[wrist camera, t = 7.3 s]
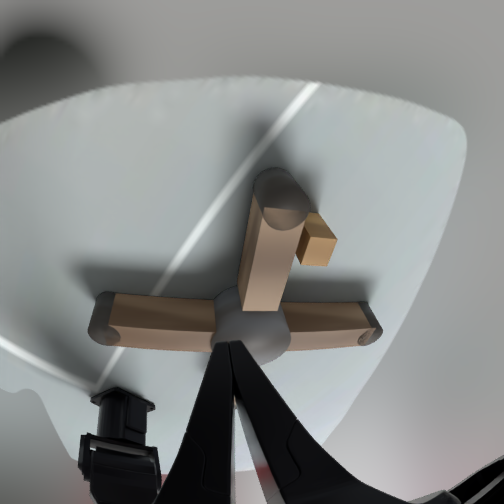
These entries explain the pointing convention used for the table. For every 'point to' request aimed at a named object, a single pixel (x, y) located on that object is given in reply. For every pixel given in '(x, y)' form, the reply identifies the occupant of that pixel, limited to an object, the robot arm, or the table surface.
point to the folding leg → (271, 239)
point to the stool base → (238, 316)
